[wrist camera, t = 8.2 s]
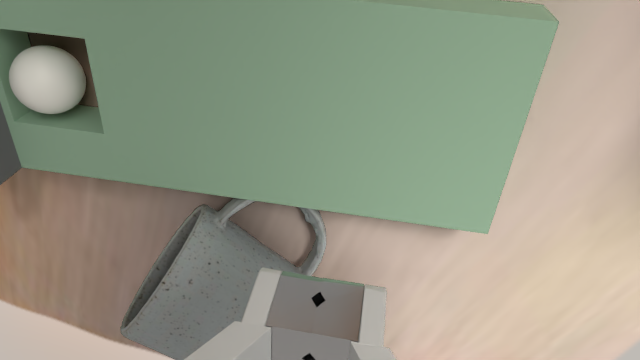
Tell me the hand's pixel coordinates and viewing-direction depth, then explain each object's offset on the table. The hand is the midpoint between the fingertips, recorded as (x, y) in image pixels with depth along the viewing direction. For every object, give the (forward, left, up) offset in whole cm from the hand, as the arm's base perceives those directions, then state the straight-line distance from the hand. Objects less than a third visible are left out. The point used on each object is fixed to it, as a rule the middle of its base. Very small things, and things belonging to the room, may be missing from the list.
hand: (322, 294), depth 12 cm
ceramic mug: (+11, -6, -14) cm, 18 cm away
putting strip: (+1, -6, -13) cm, 15 cm away
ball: (+1, -15, -13) cm, 20 cm away
